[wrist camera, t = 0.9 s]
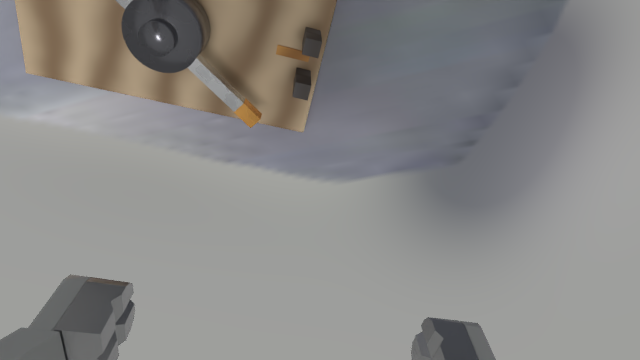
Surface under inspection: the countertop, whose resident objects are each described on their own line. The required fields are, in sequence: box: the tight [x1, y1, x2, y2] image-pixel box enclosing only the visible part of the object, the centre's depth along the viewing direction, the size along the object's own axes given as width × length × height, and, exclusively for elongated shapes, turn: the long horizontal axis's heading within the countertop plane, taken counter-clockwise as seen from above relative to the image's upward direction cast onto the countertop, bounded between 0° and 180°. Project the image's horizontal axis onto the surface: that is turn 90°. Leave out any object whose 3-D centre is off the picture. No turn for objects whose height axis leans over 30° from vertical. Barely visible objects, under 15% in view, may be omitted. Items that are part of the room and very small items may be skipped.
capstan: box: [116, 0, 262, 128], centre depth 38 cm, size 20×7×6 cm, turn 41°
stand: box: [15, 0, 337, 132], centre depth 38 cm, size 31×18×6 cm, turn 76°
